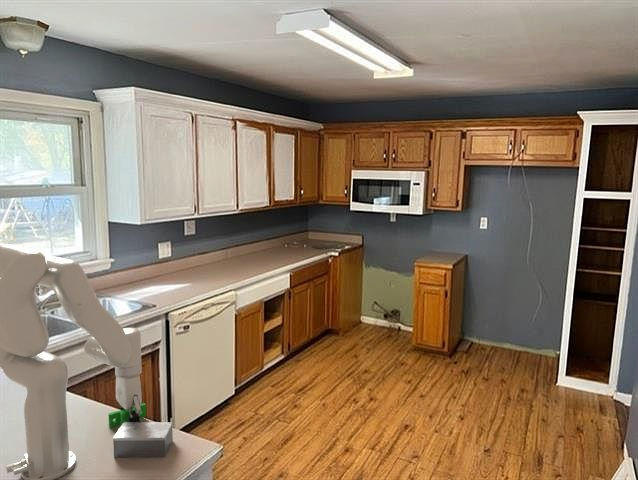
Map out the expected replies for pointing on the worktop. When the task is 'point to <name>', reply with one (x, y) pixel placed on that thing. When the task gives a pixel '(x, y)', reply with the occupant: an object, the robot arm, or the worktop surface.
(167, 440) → the gray rectangular block
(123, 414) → the pipe clamp
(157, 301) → the worktop surface
